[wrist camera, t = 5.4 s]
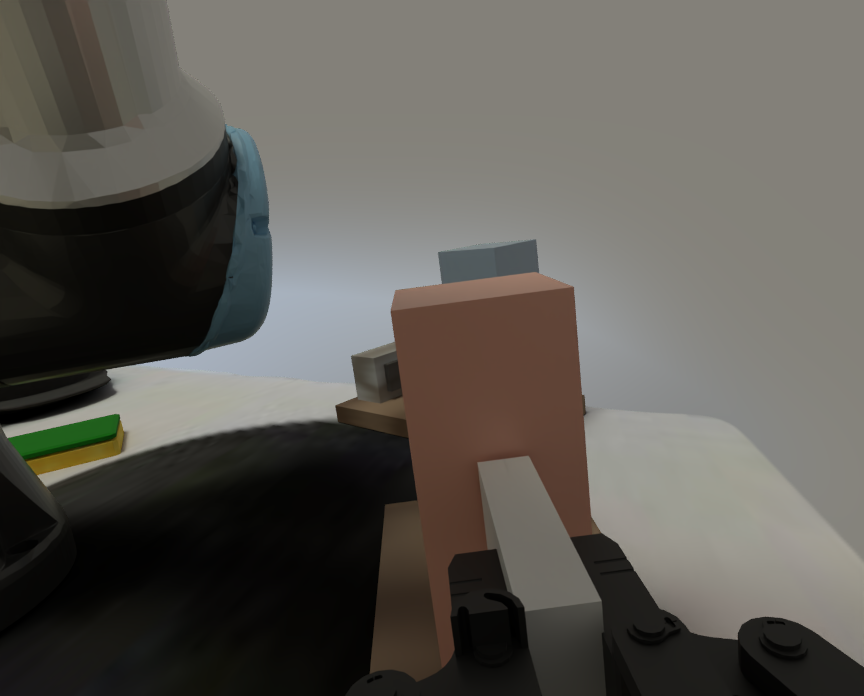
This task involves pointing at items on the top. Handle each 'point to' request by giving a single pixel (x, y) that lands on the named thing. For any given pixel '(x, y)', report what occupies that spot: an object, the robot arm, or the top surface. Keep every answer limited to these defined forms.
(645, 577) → the top surface
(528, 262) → the slate blue block
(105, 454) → the dish sponge
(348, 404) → the wooden board with block
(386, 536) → the brown piece
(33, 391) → the casserole
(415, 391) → the terracotta tall block
